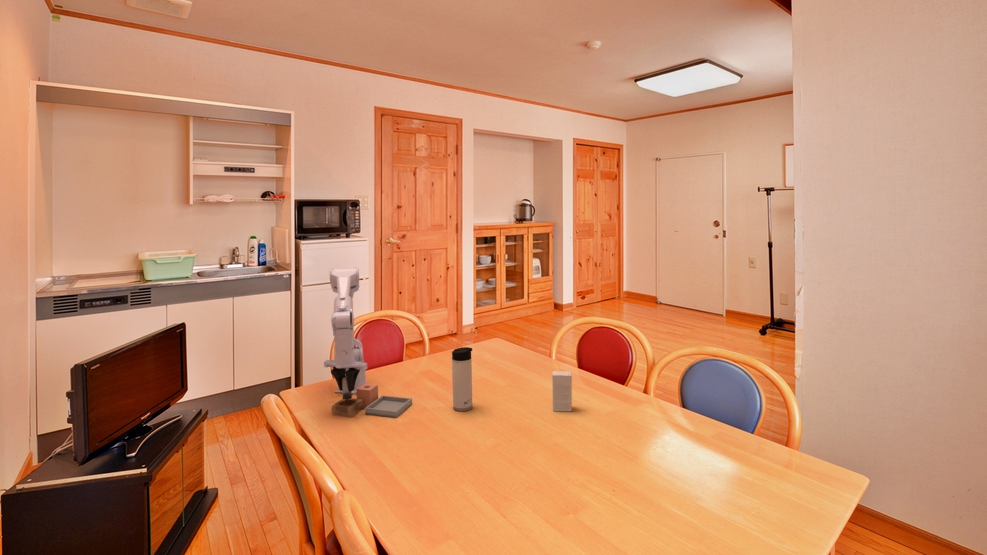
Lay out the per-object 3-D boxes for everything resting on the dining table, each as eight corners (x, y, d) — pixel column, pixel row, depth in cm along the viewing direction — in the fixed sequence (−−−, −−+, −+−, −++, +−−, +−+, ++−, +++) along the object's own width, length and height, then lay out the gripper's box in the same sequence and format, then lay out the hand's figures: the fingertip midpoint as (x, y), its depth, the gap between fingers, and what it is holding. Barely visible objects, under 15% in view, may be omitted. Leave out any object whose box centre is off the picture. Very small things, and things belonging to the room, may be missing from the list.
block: (365, 400, 162) (364, 383, 161) (378, 402, 161) (377, 384, 160) (357, 406, 158) (356, 388, 157) (370, 407, 156) (369, 390, 155)
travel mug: (470, 412, 151) (469, 351, 149) (450, 411, 153) (449, 350, 150) (475, 404, 157) (474, 345, 155) (456, 403, 159) (454, 344, 156)
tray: (382, 400, 162) (382, 395, 161) (412, 404, 158) (412, 398, 158) (365, 414, 151) (364, 408, 151) (396, 417, 148) (396, 411, 148)
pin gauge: (345, 395, 154) (344, 374, 153) (353, 396, 154) (352, 375, 153) (340, 398, 152) (339, 377, 151) (348, 399, 151) (347, 378, 150)
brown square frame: (345, 406, 158) (344, 397, 157) (363, 408, 156) (363, 399, 155) (332, 414, 151) (331, 405, 151) (351, 417, 149) (351, 408, 149)
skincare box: (570, 406, 155) (571, 371, 153) (571, 412, 151) (572, 375, 149) (552, 406, 155) (552, 370, 154) (552, 411, 151) (552, 375, 150)
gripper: (316, 350, 149) (319, 392, 151) (357, 354, 145) (360, 396, 147) (330, 344, 155) (333, 384, 157) (369, 347, 151) (372, 388, 153)
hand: (346, 390), depth 152 cm, fingers closed on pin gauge, 3 cm apart
